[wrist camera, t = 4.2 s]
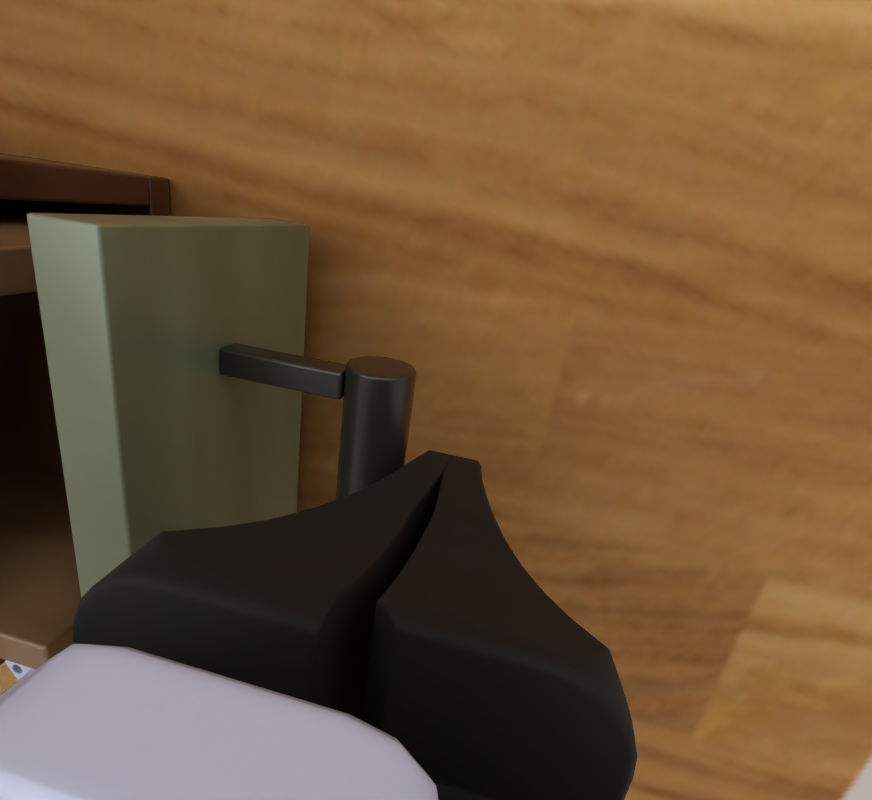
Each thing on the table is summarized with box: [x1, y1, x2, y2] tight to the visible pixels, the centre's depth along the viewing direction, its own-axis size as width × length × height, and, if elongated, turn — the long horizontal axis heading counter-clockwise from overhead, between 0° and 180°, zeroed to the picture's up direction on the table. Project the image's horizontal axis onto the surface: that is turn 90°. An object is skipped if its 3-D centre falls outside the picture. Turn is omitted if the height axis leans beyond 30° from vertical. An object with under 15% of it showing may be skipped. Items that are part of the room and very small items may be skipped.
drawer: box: [0, 202, 416, 670], centre depth 12 cm, size 17×10×7 cm, turn 82°
